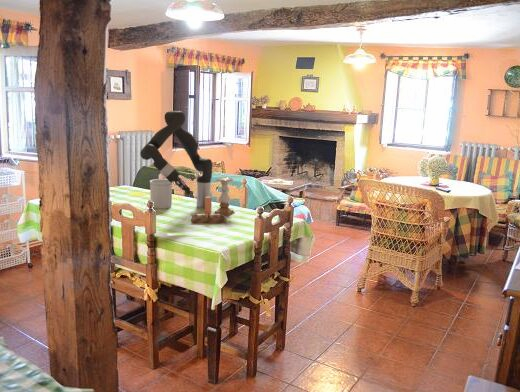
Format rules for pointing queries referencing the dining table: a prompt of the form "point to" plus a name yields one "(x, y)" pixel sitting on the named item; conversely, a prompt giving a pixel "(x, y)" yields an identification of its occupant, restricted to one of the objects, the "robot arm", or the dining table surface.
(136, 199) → the dining table surface
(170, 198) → the utensil holder
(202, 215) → the offcut block
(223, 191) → the candle holder
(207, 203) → the slat
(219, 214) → the offcut block
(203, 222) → the rack
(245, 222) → the dining table surface
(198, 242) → the dining table surface
